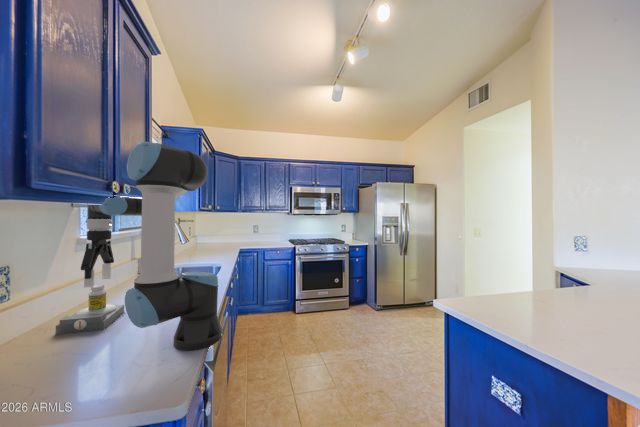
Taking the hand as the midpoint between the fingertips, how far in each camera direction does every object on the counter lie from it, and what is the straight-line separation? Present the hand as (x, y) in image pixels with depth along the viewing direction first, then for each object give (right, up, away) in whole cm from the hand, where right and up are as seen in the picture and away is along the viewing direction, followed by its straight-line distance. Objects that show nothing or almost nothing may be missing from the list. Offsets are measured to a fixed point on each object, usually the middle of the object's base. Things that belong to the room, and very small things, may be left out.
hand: (98, 282), depth 103 cm
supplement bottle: (-1, -11, 0) cm, 11 cm away
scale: (0, -15, -2) cm, 15 cm away
